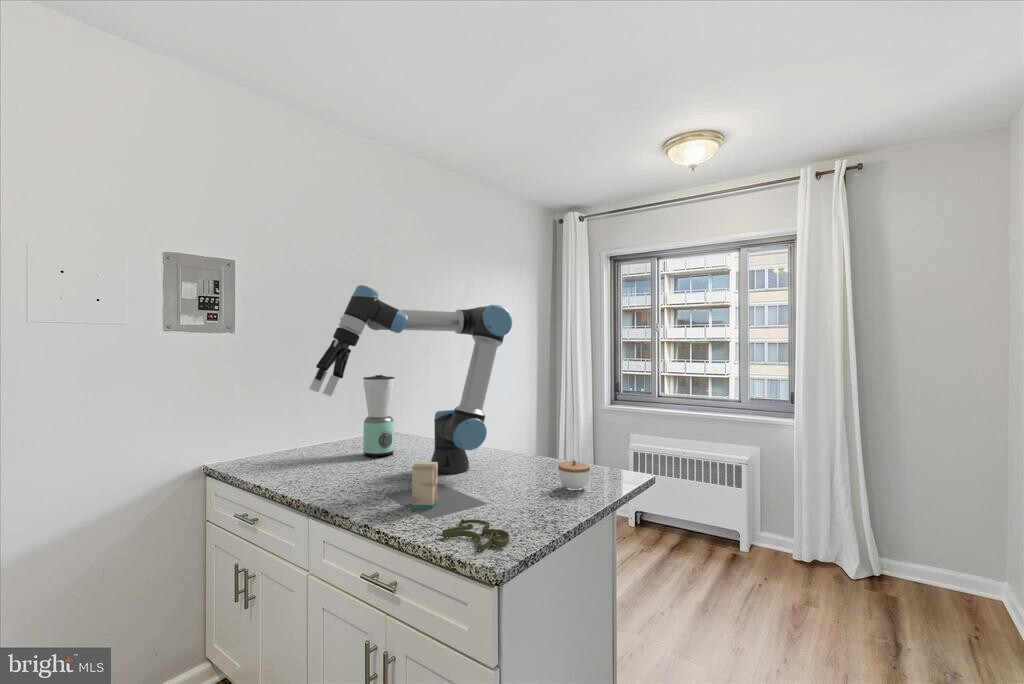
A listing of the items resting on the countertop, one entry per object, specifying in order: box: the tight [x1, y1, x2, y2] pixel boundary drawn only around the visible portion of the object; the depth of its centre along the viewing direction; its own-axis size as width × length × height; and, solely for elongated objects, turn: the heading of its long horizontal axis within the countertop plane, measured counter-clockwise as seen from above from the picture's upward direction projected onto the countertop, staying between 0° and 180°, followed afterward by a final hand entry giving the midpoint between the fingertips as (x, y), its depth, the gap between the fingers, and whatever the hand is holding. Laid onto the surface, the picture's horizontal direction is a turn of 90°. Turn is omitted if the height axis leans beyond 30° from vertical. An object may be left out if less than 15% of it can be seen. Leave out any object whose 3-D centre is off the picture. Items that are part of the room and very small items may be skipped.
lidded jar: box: [557, 459, 591, 489], centre depth 163 cm, size 11×11×9 cm
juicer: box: [362, 374, 396, 459], centre depth 213 cm, size 19×13×35 cm
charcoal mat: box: [384, 482, 488, 520], centre depth 148 cm, size 20×28×1 cm
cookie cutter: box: [441, 519, 510, 552], centre depth 121 cm, size 18×12×2 cm, turn 50°
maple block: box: [411, 461, 439, 509], centre depth 143 cm, size 6×6×12 cm
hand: (320, 392), depth 151 cm, fingers open, 13 cm apart
